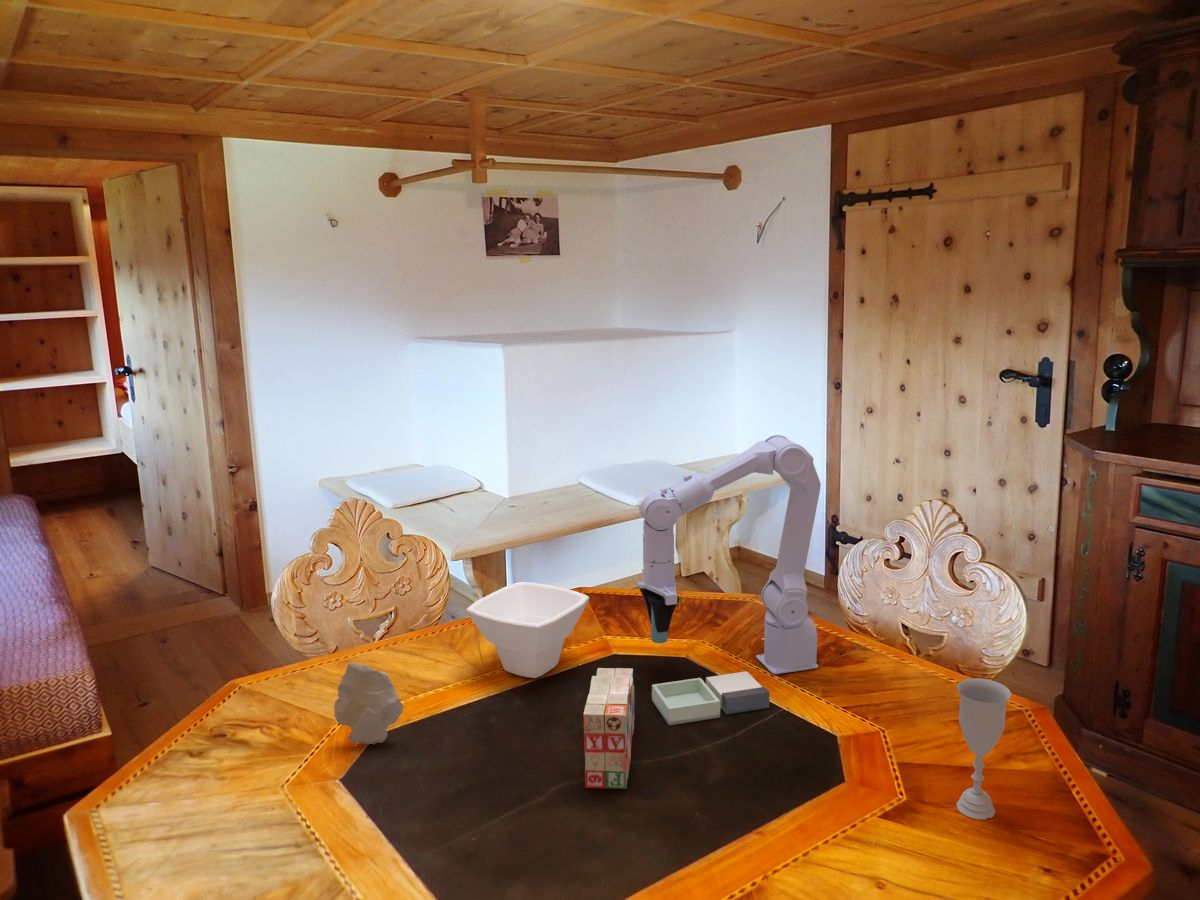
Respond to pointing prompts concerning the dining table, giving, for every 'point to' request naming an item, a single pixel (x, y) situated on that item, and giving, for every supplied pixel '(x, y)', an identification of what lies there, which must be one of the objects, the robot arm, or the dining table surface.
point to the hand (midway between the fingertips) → (659, 627)
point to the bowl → (528, 624)
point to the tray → (685, 701)
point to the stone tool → (367, 704)
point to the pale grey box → (731, 683)
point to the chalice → (980, 736)
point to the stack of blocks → (609, 728)
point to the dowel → (657, 636)
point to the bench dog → (745, 700)
